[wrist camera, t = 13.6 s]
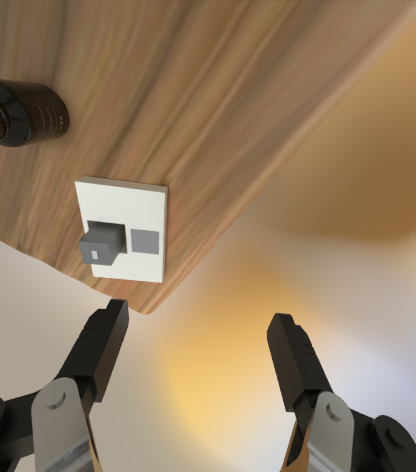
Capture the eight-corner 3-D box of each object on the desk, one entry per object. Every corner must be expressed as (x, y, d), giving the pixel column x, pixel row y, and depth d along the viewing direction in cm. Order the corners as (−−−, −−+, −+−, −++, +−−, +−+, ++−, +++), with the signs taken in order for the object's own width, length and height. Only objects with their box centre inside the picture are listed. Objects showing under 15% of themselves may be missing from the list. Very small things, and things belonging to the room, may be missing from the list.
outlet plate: (84, 176, 35) (74, 181, 33) (167, 186, 36) (164, 193, 34) (99, 266, 46) (93, 277, 43) (164, 273, 47) (161, 283, 44)
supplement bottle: (21, 127, 31) (-67, 138, 21) (17, 74, 28) (-91, 56, 18) (70, 145, 33) (9, 162, 23) (71, 96, 29) (0, 90, 19)
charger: (100, 217, 39) (77, 242, 32) (124, 220, 40) (107, 245, 33) (103, 237, 42) (82, 264, 35) (126, 240, 42) (110, 267, 35)
